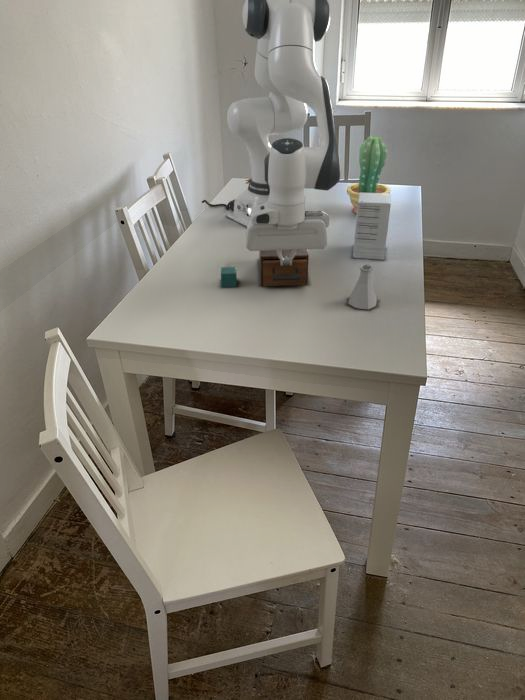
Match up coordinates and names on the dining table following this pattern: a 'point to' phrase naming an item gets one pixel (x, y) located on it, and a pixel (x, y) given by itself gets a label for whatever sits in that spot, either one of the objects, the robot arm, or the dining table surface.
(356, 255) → the supplement box
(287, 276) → the drawer
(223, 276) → the block
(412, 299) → the dining table surface
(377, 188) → the potted cactus
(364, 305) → the flask
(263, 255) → the cabinet
